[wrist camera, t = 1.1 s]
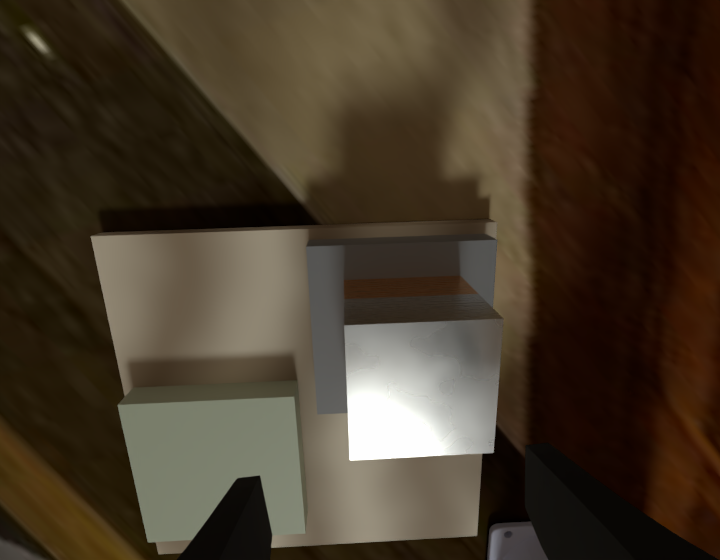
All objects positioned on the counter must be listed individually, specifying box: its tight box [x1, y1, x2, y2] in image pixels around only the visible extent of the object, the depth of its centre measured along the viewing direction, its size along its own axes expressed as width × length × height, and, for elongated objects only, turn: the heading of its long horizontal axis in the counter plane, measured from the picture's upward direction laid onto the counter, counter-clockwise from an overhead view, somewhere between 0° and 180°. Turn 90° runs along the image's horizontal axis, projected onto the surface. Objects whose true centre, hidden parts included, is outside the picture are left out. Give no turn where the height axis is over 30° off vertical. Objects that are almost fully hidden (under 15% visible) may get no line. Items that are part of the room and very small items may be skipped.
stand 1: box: [118, 380, 308, 542], centre depth 21 cm, size 8×8×2 cm
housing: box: [344, 276, 503, 460], centre depth 16 cm, size 5×5×5 cm
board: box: [91, 219, 497, 554], centre depth 22 cm, size 18×18×1 cm
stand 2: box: [306, 234, 497, 414], centre depth 19 cm, size 8×8×2 cm
